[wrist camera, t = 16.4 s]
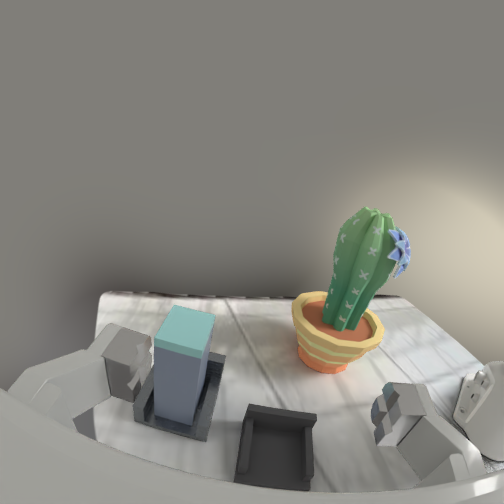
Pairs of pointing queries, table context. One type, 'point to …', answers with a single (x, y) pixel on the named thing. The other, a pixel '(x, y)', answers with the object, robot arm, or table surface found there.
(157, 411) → the plug
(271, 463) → the dark grey open tray
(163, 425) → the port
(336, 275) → the potted cactus
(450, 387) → the table surface
